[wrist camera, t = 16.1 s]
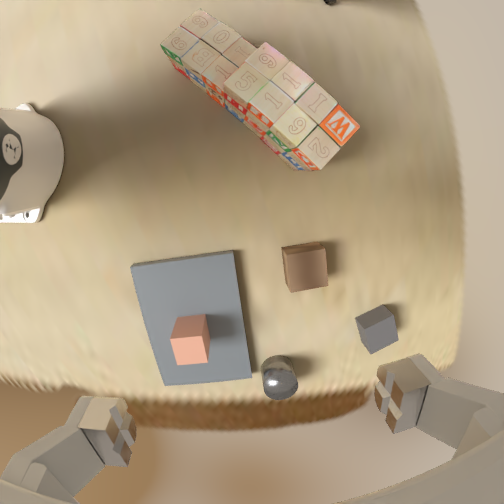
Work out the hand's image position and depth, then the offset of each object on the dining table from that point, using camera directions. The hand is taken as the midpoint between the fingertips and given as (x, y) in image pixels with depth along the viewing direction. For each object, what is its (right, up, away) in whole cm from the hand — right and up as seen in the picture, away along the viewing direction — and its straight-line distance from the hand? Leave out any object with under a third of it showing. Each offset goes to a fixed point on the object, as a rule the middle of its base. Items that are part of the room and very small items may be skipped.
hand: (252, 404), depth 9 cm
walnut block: (+7, +3, +34) cm, 35 cm away
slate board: (-8, -6, +35) cm, 36 cm away
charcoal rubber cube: (+19, -7, +37) cm, 42 cm away
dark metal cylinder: (+4, -14, +38) cm, 40 cm away
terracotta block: (-8, -6, +33) cm, 35 cm away
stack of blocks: (0, +24, +28) cm, 37 cm away
